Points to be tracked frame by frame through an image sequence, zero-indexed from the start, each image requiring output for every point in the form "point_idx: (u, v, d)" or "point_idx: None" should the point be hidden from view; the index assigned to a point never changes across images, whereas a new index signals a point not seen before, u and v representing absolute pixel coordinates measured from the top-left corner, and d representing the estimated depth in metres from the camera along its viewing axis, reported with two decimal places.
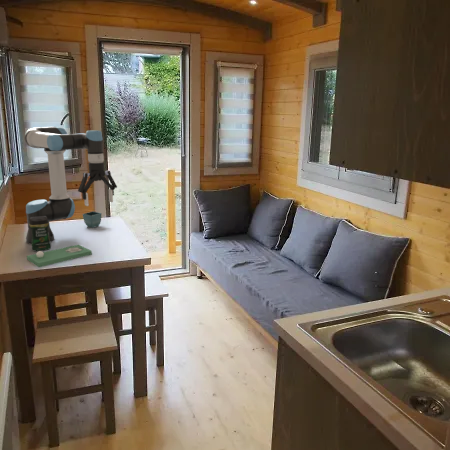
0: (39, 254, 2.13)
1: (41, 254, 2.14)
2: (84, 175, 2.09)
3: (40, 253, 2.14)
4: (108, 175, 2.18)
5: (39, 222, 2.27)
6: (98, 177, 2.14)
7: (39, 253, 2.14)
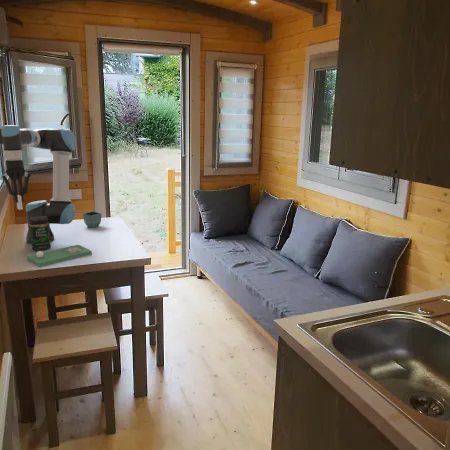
0: (39, 254, 2.13)
1: (41, 254, 2.14)
2: (3, 178, 1.96)
3: (40, 253, 2.14)
4: (26, 177, 2.02)
5: (39, 222, 2.27)
6: (17, 175, 1.99)
7: (39, 253, 2.14)
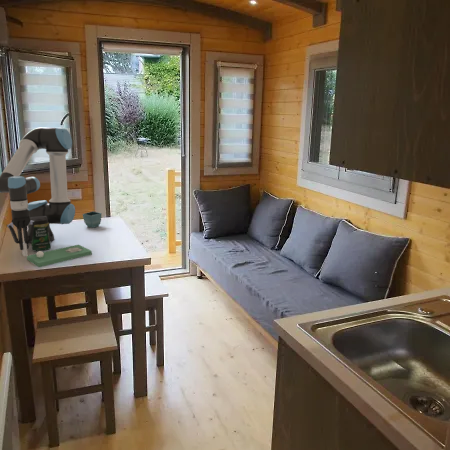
0: (39, 254, 2.13)
1: (41, 254, 2.14)
2: (9, 228, 2.02)
3: (40, 253, 2.14)
4: (31, 225, 2.08)
5: (39, 222, 2.27)
6: (22, 224, 2.05)
7: (39, 253, 2.14)
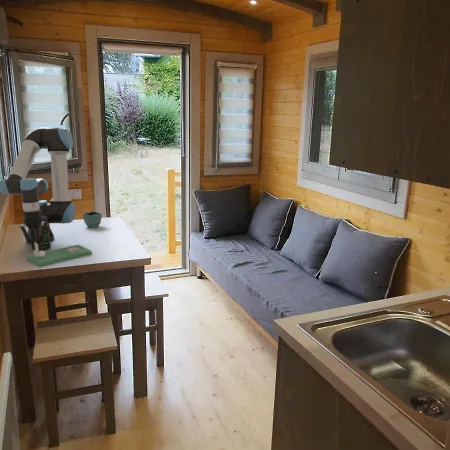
0: (41, 253, 2.14)
1: (43, 254, 2.15)
2: (21, 228, 2.06)
3: (42, 253, 2.14)
4: (42, 226, 2.13)
5: None
6: (34, 225, 2.09)
7: (41, 252, 2.14)
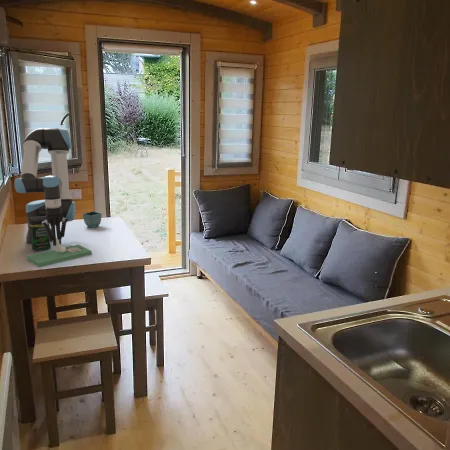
0: (61, 250, 2.21)
1: (63, 249, 2.21)
2: (43, 224, 2.13)
3: (62, 249, 2.21)
4: (63, 222, 2.20)
5: (39, 222, 2.27)
6: (55, 221, 2.16)
7: (61, 250, 2.21)
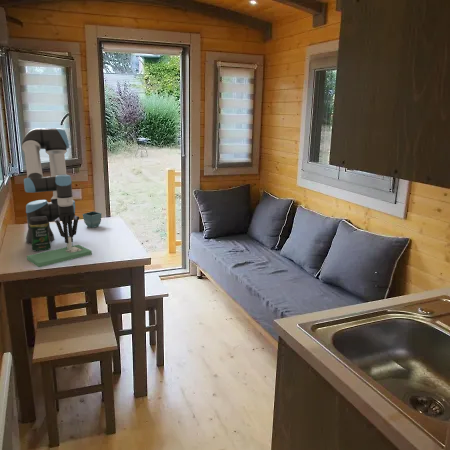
0: (76, 250, 2.28)
1: (74, 249, 2.27)
2: (56, 222, 2.18)
3: None
4: (75, 220, 2.24)
5: (39, 222, 2.27)
6: (68, 219, 2.21)
7: None
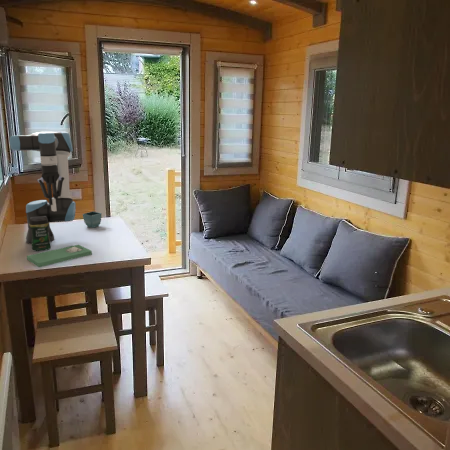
0: (76, 250, 2.27)
1: (74, 250, 2.27)
2: (39, 182, 2.09)
3: None
4: (60, 180, 2.15)
5: (39, 222, 2.27)
6: (51, 179, 2.12)
7: None
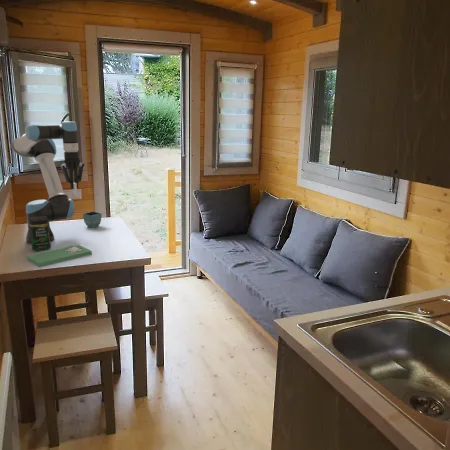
0: (76, 250, 2.27)
1: (74, 250, 2.27)
2: (62, 167, 2.25)
3: None
4: (80, 166, 2.32)
5: (39, 222, 2.27)
6: (73, 165, 2.29)
7: None
